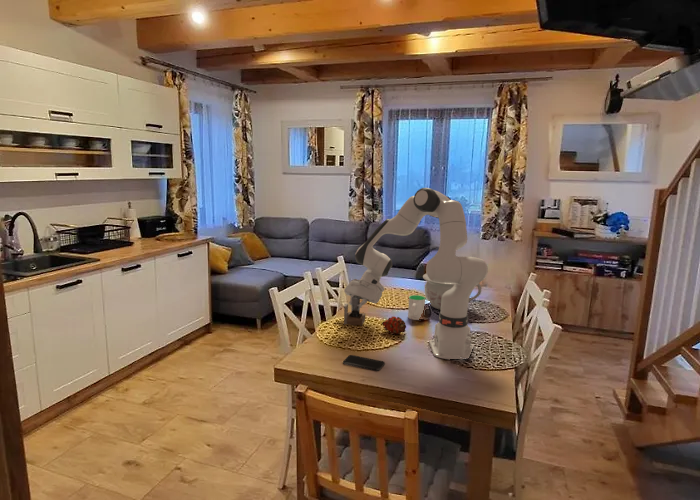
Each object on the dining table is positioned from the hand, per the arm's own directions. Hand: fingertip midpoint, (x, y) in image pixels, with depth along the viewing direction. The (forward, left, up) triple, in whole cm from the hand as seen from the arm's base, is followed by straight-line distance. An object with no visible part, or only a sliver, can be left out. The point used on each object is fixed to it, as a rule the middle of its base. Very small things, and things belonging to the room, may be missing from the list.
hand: (354, 305), depth 219 cm
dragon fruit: (-9, -20, -9) cm, 24 cm away
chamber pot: (+37, -43, -9) cm, 58 cm away
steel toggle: (+1, 0, -5) cm, 5 cm away
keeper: (-1, 0, -8) cm, 9 cm away
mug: (+14, -28, -9) cm, 33 cm away
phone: (-44, -13, -9) cm, 47 cm away
